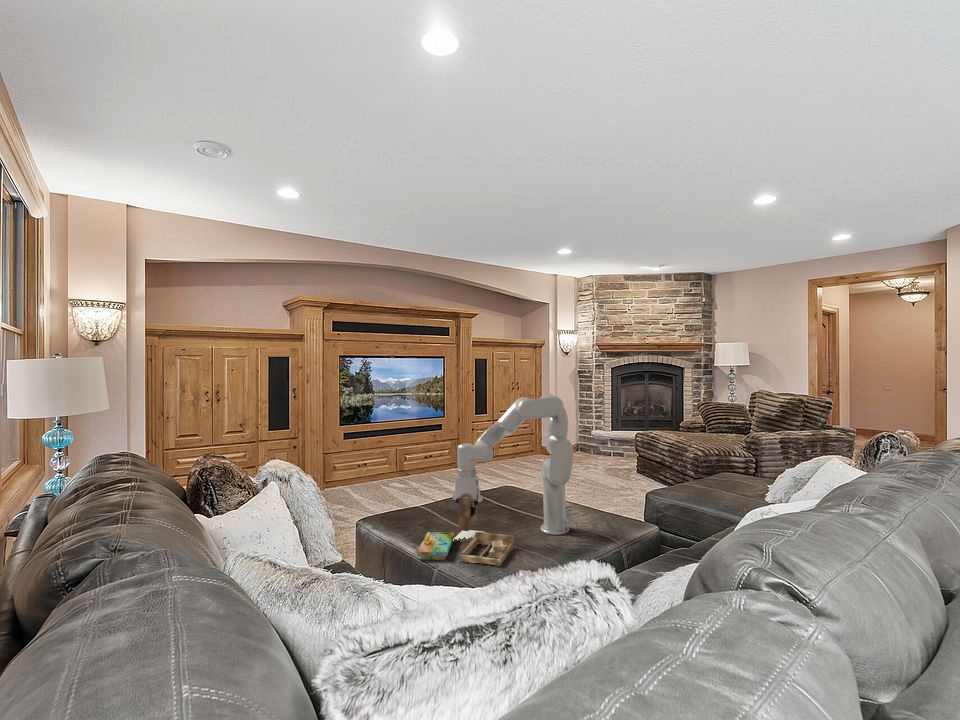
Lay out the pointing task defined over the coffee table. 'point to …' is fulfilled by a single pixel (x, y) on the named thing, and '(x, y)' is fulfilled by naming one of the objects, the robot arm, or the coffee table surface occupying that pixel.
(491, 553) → the offcut low
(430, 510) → the coffee table surface
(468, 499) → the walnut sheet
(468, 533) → the mat
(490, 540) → the frame
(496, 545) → the offcut top
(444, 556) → the puzzle game
